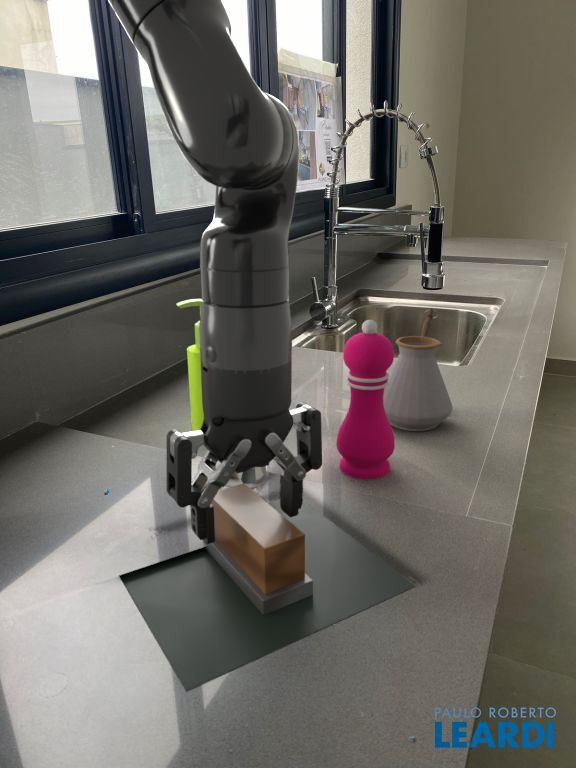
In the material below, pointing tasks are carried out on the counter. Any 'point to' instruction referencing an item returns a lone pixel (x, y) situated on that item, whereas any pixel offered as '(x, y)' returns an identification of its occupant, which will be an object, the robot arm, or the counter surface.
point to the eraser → (259, 549)
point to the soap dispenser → (194, 371)
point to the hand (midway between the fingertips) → (249, 525)
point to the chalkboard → (237, 612)
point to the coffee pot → (417, 384)
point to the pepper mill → (366, 406)
